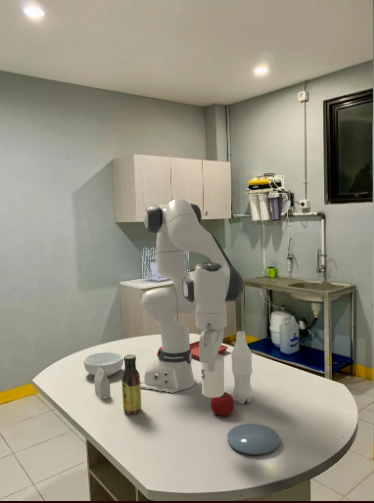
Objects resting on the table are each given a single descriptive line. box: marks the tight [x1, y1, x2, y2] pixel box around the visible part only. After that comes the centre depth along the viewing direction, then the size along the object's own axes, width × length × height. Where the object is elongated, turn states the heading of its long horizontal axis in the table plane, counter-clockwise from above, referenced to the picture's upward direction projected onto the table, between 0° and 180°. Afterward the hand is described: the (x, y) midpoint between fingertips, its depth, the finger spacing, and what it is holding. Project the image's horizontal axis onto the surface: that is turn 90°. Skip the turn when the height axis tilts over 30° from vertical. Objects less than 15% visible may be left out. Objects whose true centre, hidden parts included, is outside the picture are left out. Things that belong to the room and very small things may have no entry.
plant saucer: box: [190, 340, 229, 361], centre depth 196 cm, size 18×18×3 cm
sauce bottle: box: [121, 353, 142, 415], centre depth 139 cm, size 7×6×20 cm
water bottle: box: [231, 330, 254, 405], centre depth 144 cm, size 7×7×25 cm
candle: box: [201, 354, 225, 399], centre depth 116 cm, size 6×6×15 cm
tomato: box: [210, 391, 235, 417], centre depth 136 cm, size 8×8×7 cm
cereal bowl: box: [83, 351, 124, 377], centre depth 175 cm, size 17×17×7 cm
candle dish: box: [226, 423, 281, 456], centre depth 118 cm, size 15×15×2 cm
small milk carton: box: [93, 367, 111, 400], centre depth 154 cm, size 4×7×10 cm, turn 31°
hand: (212, 367), depth 116 cm, fingers closed on candle, 4 cm apart
